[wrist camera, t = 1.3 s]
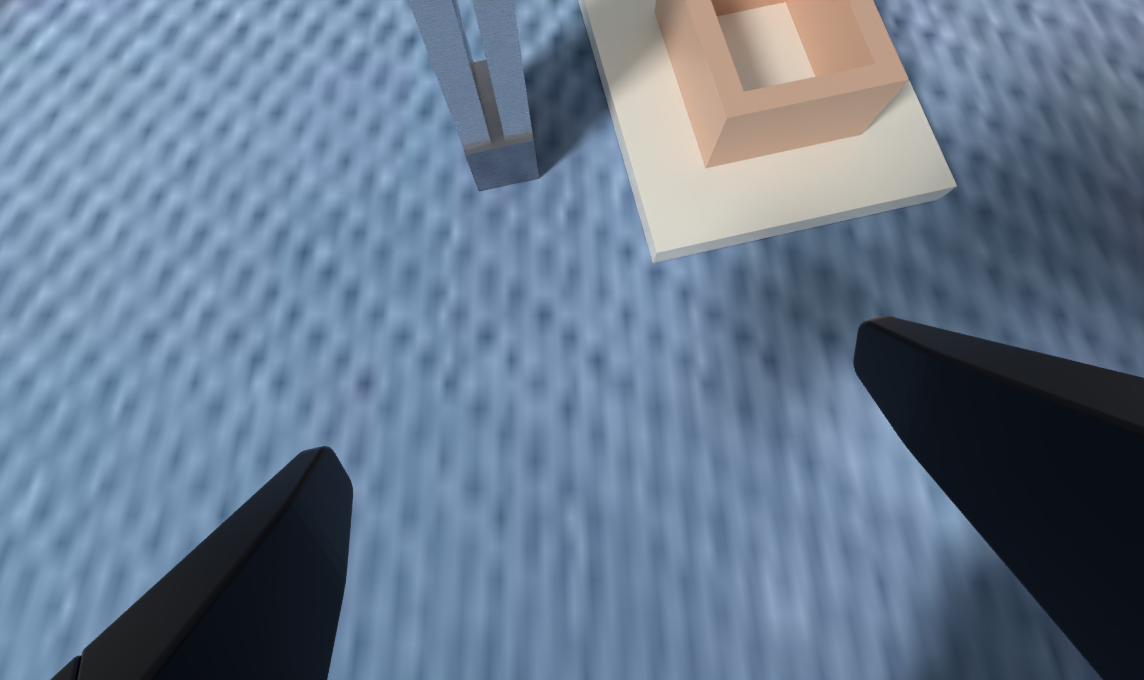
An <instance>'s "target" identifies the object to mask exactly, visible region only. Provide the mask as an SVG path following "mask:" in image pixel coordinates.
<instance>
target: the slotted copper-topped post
mask: <svg viewBox="0 0 1144 680" xmlns="http://www.w3.org/2000/svg"><path fill="white" fill-rule="evenodd" d="M408 1H409V3H410V6H411V9H412V11H413V14H414V17H415V19H416V22H417V25H418V28H419V30H420V33H421V36H422V38H423V41H424V44H425V46H426V49H427V52H428V54H429V57H430V60H431V62H432V65H433V68H434V70H435V73H436V76H437V78H438V81H439V84H440V87H441V89H442V92H443V95H444V97H445V100H446V103H447V105H448V108H449V111H450V113H451V116H452V119H453V121H454V124H455V127H456V129H457V132H458V135H459V137H460V140H461V143H462V146H463V148H464V152H465V156H466V159H467V161H468V164H469V167H470V169H471V172H472V175H473V177H474V180H475V183H476V185H477V188H478V190H479V191H482V190H487V189H492V188H496V187H501V186H506V185H510V184H515V183H520V182H524V181H529V180H534V179H538V178H539V173H538V166H537V159H536V152H535V145H534V139H533V134H532V127H531V120H530V113H529V106H528V100H527V93H526V86H525V79H524V72H523V65H522V58H521V51H520V44H519V37H518V30H517V23H516V16H515V9H514V3H513V0H473V5H474V9H475V13H476V17H477V22H478V26H479V30H480V35H481V39H482V43H483V47H484V52H485V56H486V60H483V61H478V62H473V58H472V55H471V51H470V47H469V43H468V40H467V36H466V32H465V28H464V25H463V21H462V17H461V13H460V10H459V6H458V2H457V0H408Z"/></svg>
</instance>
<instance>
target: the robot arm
mask: <svg viewBox="0 0 1144 680" xmlns="http://www.w3.org/2000/svg"><path fill="white" fill-rule="evenodd" d="M853 363H854V369H855V372H856V374H857V376H858V377H859V379H860V380H861V382H862V383H863V385H864V386H865V388H866V389H867V391H868V392H869V394H870V395H871V397H872V398H873V399H874V401H875V402H876V404H877V405H878V407H879V408H880V410H881V411H882V413H883V414H884V416H885V417H886V419H887V420H888V422H889V423H890V424H891V426H892V427H893V429H894V430H895V432H896V433H897V435H898V436H899V437H900V439H901V440H902V442H903V443H904V444H905V446H906V447H907V448H908V450H909V451H910V452H911V453H912V454H913V456H914V457H915V458H916V459H917V461H918V462H919V463H920V464H921V465H922V467H923V468H924V469H925V470H926V471H927V472H928V474H929V475H930V476H931V477H932V478H933V480H934V481H935V482H936V483H937V484H938V485H939V487H940V488H941V489H942V490H943V491H944V493H945V494H946V495H947V496H948V497H949V498H950V500H951V501H952V502H953V503H954V504H955V506H956V507H957V508H958V509H959V510H960V511H961V513H962V514H963V515H964V516H965V517H966V519H967V520H968V521H969V522H970V523H971V524H972V526H973V527H974V528H975V529H976V530H977V532H978V533H979V534H980V535H981V536H982V537H983V539H984V540H985V541H986V542H987V543H988V545H989V546H990V547H991V548H992V549H993V550H994V552H995V553H996V554H997V555H998V556H999V558H1000V559H1001V560H1002V561H1003V562H1004V563H1005V565H1006V566H1007V567H1008V568H1009V569H1010V571H1011V572H1012V573H1013V574H1014V575H1015V576H1016V578H1017V579H1018V580H1019V581H1020V582H1021V584H1022V585H1023V586H1024V587H1025V588H1026V589H1027V591H1028V592H1029V593H1030V594H1031V595H1032V597H1033V598H1034V599H1035V600H1036V601H1037V602H1038V604H1039V605H1040V606H1041V607H1042V608H1043V610H1044V611H1045V612H1046V613H1047V614H1048V615H1049V617H1050V618H1051V619H1052V620H1053V621H1054V623H1055V624H1056V625H1057V626H1058V627H1059V628H1060V630H1061V631H1062V632H1063V633H1064V634H1065V636H1066V637H1067V638H1068V639H1069V640H1070V641H1071V643H1072V644H1073V645H1074V646H1075V647H1076V649H1077V650H1078V651H1079V652H1080V653H1081V654H1082V656H1083V657H1084V658H1085V659H1086V660H1087V662H1088V663H1089V664H1090V665H1091V666H1092V667H1093V669H1094V670H1095V671H1096V672H1097V673H1098V675H1099V676H1100V677H1101V678H1102V679H1103V680H1144V378H1142V377H1138V376H1134V375H1130V374H1126V373H1122V372H1117V371H1113V370H1109V369H1105V368H1101V367H1097V366H1093V365H1089V364H1084V363H1080V362H1076V361H1072V360H1068V359H1064V358H1060V357H1055V356H1051V355H1047V354H1043V353H1039V352H1035V351H1031V350H1027V349H1022V348H1018V347H1014V346H1010V345H1006V344H1002V343H998V342H994V341H989V340H985V339H981V338H977V337H973V336H969V335H965V334H960V333H956V332H952V331H948V330H944V329H940V328H936V327H932V326H927V325H923V324H919V323H915V322H911V321H907V320H903V319H898V318H894V317H890V316H883V317H879V318H874V319H870V320H866V321H864V322H862V323H861V324H860V326H859V328H858V333H857V340H856V347H855V353H854V361H853ZM352 502H353V487H352V483H351V480H350V478H349V476H348V475H347V473H346V471H345V469H344V468H343V466H342V464H341V463H340V461H339V459H338V457H337V456H336V454H335V452H334V451H333V450H332V449H331V448H330V447H327V446H322V447H318V448H313V449H309V450H305V451H302V452H301V453H299V454H298V455H297V456H296V457H295V458H294V459H293V460H291V461H290V462H289V463H288V464H287V465H286V466H285V467H284V468H283V469H282V470H280V471H279V472H278V473H277V474H276V475H275V476H274V477H273V478H272V479H271V480H269V481H268V482H267V483H266V484H265V485H264V486H263V487H262V488H261V489H260V490H258V491H257V492H256V493H255V494H254V495H253V496H252V497H251V498H250V499H249V500H247V501H246V502H245V503H244V504H243V505H242V506H241V507H240V508H239V509H238V510H236V511H235V512H234V513H233V514H232V515H231V516H230V517H229V518H228V519H227V520H225V521H224V522H223V523H222V524H221V525H220V526H219V527H218V528H217V529H216V530H215V531H213V532H212V533H211V534H210V535H209V536H208V537H207V538H206V539H205V540H204V541H202V542H201V543H200V544H199V545H198V546H197V547H196V548H195V549H194V550H193V551H191V552H190V553H189V554H188V555H187V556H186V557H185V558H184V559H183V560H182V561H180V562H179V563H178V564H177V565H176V566H175V567H174V568H173V569H172V570H171V571H169V572H168V573H167V574H166V575H165V576H164V577H163V578H162V579H161V580H160V581H158V582H157V583H156V584H155V585H154V586H153V587H152V588H151V589H150V590H149V591H147V592H146V593H145V594H144V595H143V596H142V597H141V598H140V599H139V600H138V601H136V602H135V603H134V604H133V605H132V606H131V607H130V608H129V609H128V610H127V611H125V612H124V613H123V614H122V615H121V616H120V617H119V618H118V619H117V620H116V621H114V622H113V623H112V624H111V625H110V626H109V627H108V628H107V629H106V630H105V631H103V632H102V633H101V634H100V635H99V636H98V637H97V638H96V639H95V640H94V641H92V642H91V643H90V644H89V645H88V646H87V647H86V648H85V649H84V650H83V652H82V656H76V657H75V658H74V659H72V660H71V661H70V662H69V663H68V664H67V665H66V666H65V667H64V668H63V669H62V670H60V671H59V672H58V673H57V674H56V675H55V676H54V677H53V678H52V679H51V680H327V678H328V673H329V668H330V663H331V657H332V652H333V647H334V642H335V637H336V632H337V626H338V621H339V616H340V611H341V606H342V601H343V595H344V589H345V583H346V575H347V566H348V553H349V541H350V528H351V515H352Z"/></svg>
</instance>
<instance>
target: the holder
mask: <svg viewBox="0 0 1144 680" xmlns="http://www.w3.org/2000/svg"><path fill="white" fill-rule="evenodd" d="M578 2H579V5H580V9H581V12H582V16H583V19H584V23H585V26H586V30H587V33H588V37H589V40H590V44H591V47H592V51H593V54H594V58H595V61H596V65H597V68H598V72H599V75H600V79H601V82H602V86H603V89H604V93H605V96H606V100H607V103H608V107H609V110H610V114H611V117H612V121H613V124H614V128H615V131H616V135H617V138H618V142H619V145H620V149H621V152H622V156H623V160H624V163H625V167H626V170H627V174H628V177H629V181H630V184H631V188H632V191H633V195H634V198H635V202H636V205H637V209H638V212H639V216H640V219H641V223H642V226H643V230H644V233H645V237H646V240H647V244H648V247H649V251H650V254H651V258H652V261H653V263H656V262H660V261H665V260H669V259H674V258H678V257H683V256H687V255H692V254H696V253H701V252H705V251H710V250H714V249H719V248H723V247H728V246H732V245H737V244H741V243H746V242H750V241H755V240H759V239H764V238H768V237H773V236H777V235H782V234H786V233H791V232H795V231H800V230H804V229H809V228H813V227H818V226H822V225H827V224H831V223H836V222H840V221H845V220H849V219H854V218H858V217H863V216H867V215H872V214H876V213H881V212H885V211H890V210H894V209H899V208H903V207H908V206H912V205H917V204H921V203H926V202H930V201H935V200H939V199H940V198H942V197H943V196H945V195H946V194H947V193H949V192H950V191H951V190H953V189H954V188H956V187H957V185H956V182H955V180H954V178H953V176H952V174H951V171H950V169H949V167H948V165H947V163H946V160H945V158H944V156H943V154H942V151H941V149H940V147H939V145H938V143H937V140H936V138H935V136H934V134H933V132H932V129H931V127H930V125H929V123H928V121H927V118H926V116H925V114H924V112H923V110H922V107H921V105H920V103H919V101H918V98H917V96H916V94H915V92H914V90H913V87H912V85H911V83H910V81H909V79H908V76H907V74H906V72H905V70H904V68H903V65H902V63H901V61H900V59H899V57H898V54H897V52H896V50H895V48H894V46H893V43H892V41H891V39H890V37H889V34H888V32H887V30H886V28H885V26H884V23H883V21H882V19H881V17H880V15H879V12H878V10H877V8H876V6H875V4H874V1H873V0H578Z"/></svg>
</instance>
